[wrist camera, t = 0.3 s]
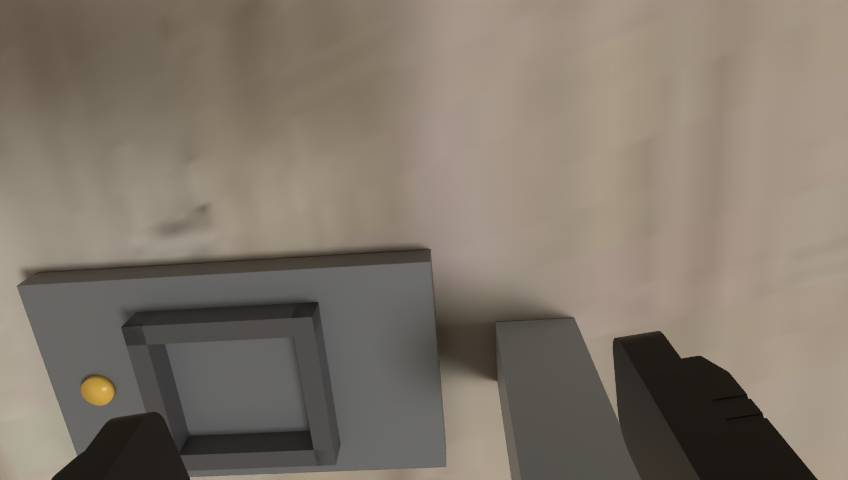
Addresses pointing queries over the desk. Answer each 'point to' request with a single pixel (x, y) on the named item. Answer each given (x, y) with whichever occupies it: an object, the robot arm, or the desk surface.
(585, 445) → the plug
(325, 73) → the desk surface
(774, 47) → the desk surface
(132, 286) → the power dock
